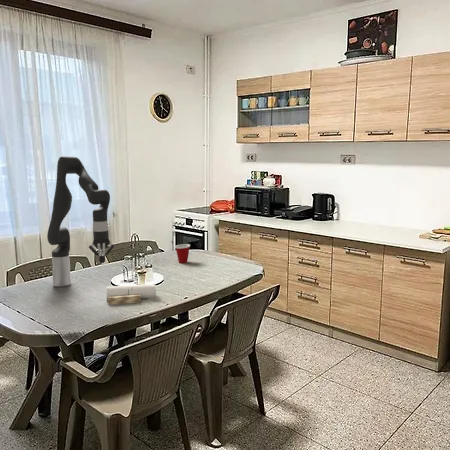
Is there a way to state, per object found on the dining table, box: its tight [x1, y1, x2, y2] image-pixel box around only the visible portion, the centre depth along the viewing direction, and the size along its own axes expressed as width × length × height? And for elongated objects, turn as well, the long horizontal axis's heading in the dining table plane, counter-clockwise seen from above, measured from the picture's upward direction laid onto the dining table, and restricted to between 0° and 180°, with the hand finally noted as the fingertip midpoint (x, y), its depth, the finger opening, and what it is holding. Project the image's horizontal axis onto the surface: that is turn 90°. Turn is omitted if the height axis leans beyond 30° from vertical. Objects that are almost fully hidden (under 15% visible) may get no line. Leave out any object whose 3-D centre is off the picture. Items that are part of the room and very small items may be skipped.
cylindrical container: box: [106, 284, 157, 301], centre depth 232 cm, size 7×7×25 cm
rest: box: [107, 295, 142, 305], centre depth 232 cm, size 16×14×4 cm
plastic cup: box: [174, 243, 191, 264], centre depth 303 cm, size 11×11×12 cm
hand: (102, 262), depth 226 cm, fingers closed
